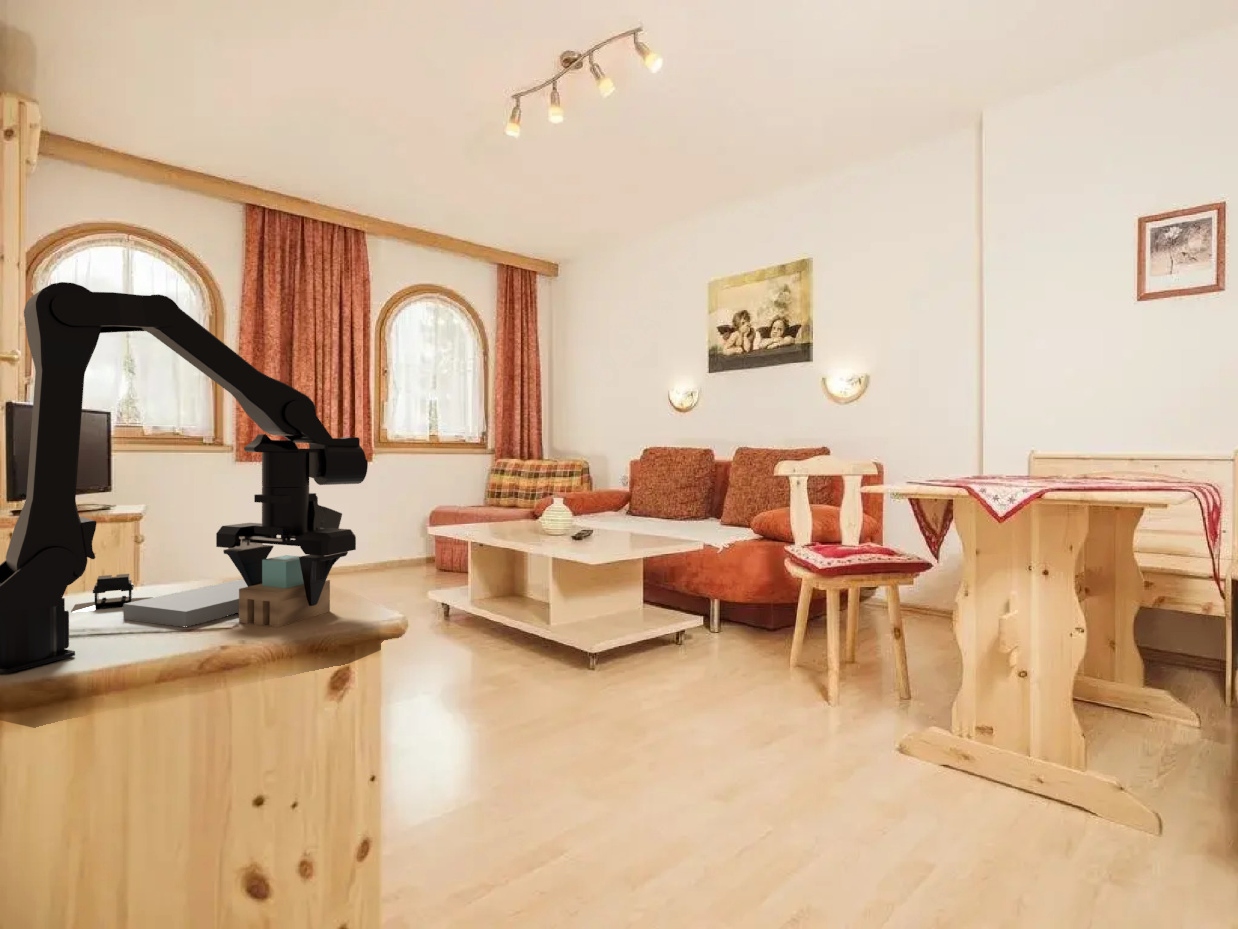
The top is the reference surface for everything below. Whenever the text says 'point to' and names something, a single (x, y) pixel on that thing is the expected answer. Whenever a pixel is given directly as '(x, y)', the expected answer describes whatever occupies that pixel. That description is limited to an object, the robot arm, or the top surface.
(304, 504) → the robot arm
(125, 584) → the black open frame block
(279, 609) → the wooden slotted block
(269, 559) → the teal cube
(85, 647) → the top surface
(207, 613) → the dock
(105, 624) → the top surface
